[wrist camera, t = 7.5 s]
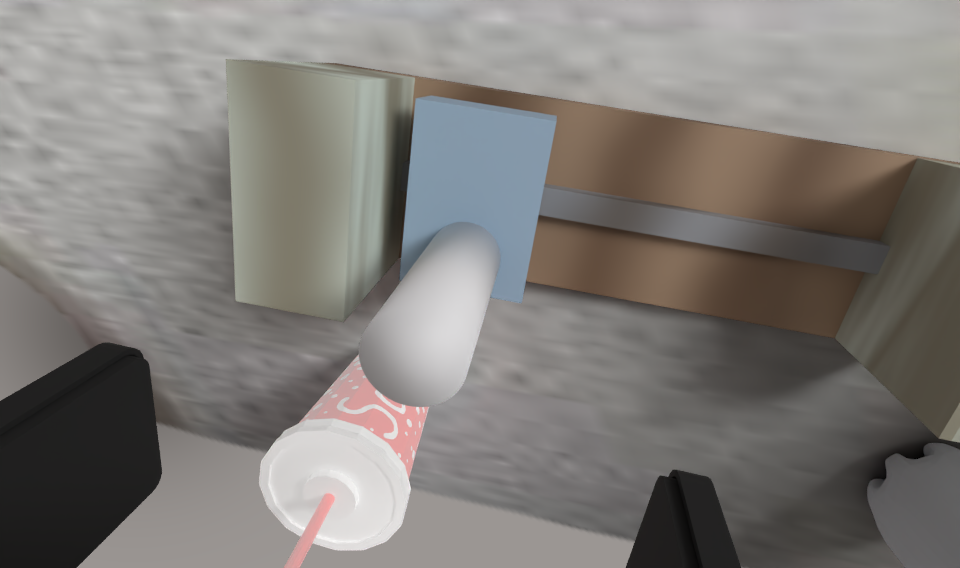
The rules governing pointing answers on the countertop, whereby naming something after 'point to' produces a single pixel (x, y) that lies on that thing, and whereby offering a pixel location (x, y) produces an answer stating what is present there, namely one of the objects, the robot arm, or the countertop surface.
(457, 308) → the carriage
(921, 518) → the bottle
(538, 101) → the rail stand
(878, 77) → the countertop surface
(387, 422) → the beverage cup
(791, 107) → the countertop surface
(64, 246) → the countertop surface
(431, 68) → the countertop surface
